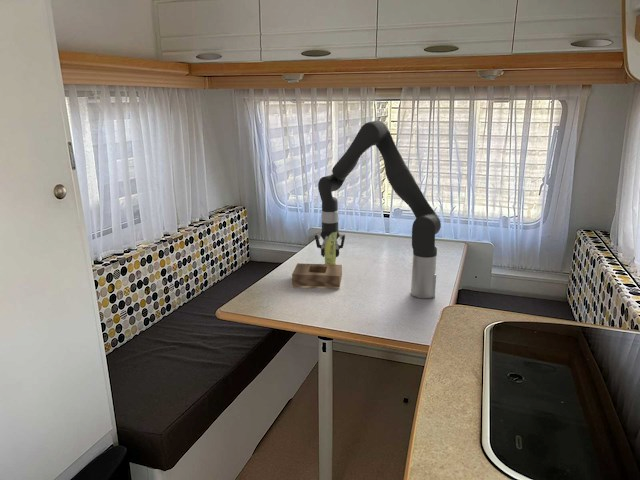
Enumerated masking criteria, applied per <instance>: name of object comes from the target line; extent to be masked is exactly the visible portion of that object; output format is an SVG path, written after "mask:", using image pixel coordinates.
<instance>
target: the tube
mask: <svg viewBox="0 0 640 480" xmlns="http://www.w3.org/2000/svg"><path fill="white" fill-rule="evenodd" d="M331 236H334V239H333V240H332V238H331ZM322 240H323V239H322ZM335 241H337V242H338V239H337V231H336V232H333V233H331V234H330V235H329V238H328V239H327V241H326V244H325V246H324V264H331V265H337V257H336V245H335ZM323 242H324V240H323V241H322V243H323Z"/></svg>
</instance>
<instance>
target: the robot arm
mask: <svg viewBox="0 0 640 480" xmlns="http://www.w3.org/2000/svg"><path fill="white" fill-rule="evenodd" d="M372 146H375V147H376V148H377V149H378V151H379V152H380V154H381V155H380V156H381V157H382V160H383V163H384V164H383V165H384V171H385V176H386V178H387V180H388V183H389V184H390V186H391V188H392V190H393V191H394V192H395V194H396V195H397V196H398V197H399V199H401V200H402V201H403V202H404V203H405V204H406V205H407V206H408V207H409V208H410V210H411V211H412V214H413V215H414V217H415V219H414V221H413V223H412V228H411V247H412V263H411V264H412V269H411V287H410V293H411V294H410V295H411V296H412V297H414V298H418V299H431V298H435V297H436V283H437V274H436V270H437V255H438V248H437V246H436V245H435V244H436V242H435V241H436V235H437V234H438V233H439V232H440V231H441V228H442V227H441V226H442V224H441V223H442V222H441V219H440V217H439V216H438V214H437V213H436V212H435V210H434V209H433V208H432V206H431V205H430V204H429V202H428V201H427V199H426V198H425V195H424V193H423V191H422V190H421V188H420V186H419V184H418V183H417V181H416V179H415V177H414V174H413V173H412V172H411V170H410V168H409V166H408V165H407V164H406V162H405V160H404V158H403V156H402V154H401V152H400V150H398V147H397V145H396V143H395V140H394V139H393V137H392V133H391V131H390V129H389V128H388V126H387V124H386V123H385V122H383V121H382V120H373V121H367V122H365V123H364V124H363V125H362V126H361V127H360V129H359V130H358V132H357V134H356V136H355V138H354V139H353V141H352V142H351V144H350V145H349V147H348V148H347V150H346V151H345V152H344V154H343V155H342V156H341V157H340V158H339V159H338V161H337V162H336V163H335V164H334V166H333V167H332V170H331V173H332V174H330V175H326V176H321V178H320V179H319V180H318V182H317V183H318V184H317V188H318V189H317V190H318V194H319V197H320V199H321V200H320V201H321V232H320V233H315V234H314V239H315V244H316V247H317V249H320V256H321V257H323V258H325V255H324V246H325V244H326V241H327V239H328V238H329V235H330V234H331V233H333V232H336V231H337V241H335V245H336V258H338V257H339V256H340V250H341V249H343V248H344V244H345V239H346V234H340V232H339V219H340V218H339V212H338V211H339V207H338V206H339V202H338V198H336V197H335V196H333V193H332V192H335V191H338V190H340V188H342V186H343V184H344V182H345V180H346V178H347V177H348V176H349V175H350V173H351V172H352V171H353V170H354V169H355V168H356V166H357V165H358V162H359V160H360V158H361V157H362V155H363V154H364V153H365V152H366V151H367V150H368V149H370V148H372ZM331 238H332V240H333V239H334V236H331ZM320 239H322V240H324V242H323V241H322V243H320ZM338 239H339V240H341V242H340V245H339V242H338Z"/></svg>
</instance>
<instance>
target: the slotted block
mask: <svg viewBox="0 0 640 480" xmlns="http://www.w3.org/2000/svg"><path fill="white" fill-rule="evenodd" d="M342 277H343V266H342V264H336V265H331V264H325V263H299V262H297V264H296V265H295V267H294V270H293V271H292V273H291V283H292V284H291V287H292V288H293V289H294V288H295V289H298V288H299V289H315V290H317V289H320V290H321V289H322V290H340V289H341V282H342Z"/></svg>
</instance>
